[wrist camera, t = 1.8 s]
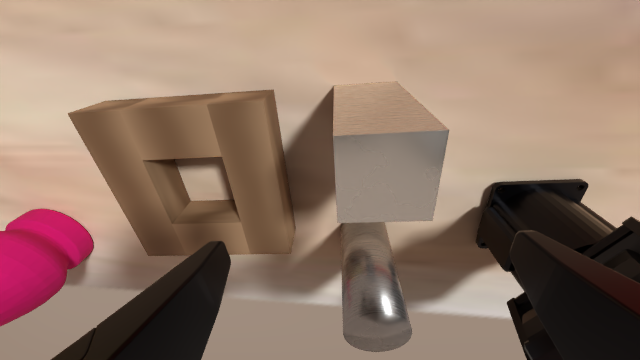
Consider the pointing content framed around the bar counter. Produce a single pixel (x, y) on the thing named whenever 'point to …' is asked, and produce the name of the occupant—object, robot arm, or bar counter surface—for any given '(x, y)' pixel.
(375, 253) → the round bit
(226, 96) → the bore block
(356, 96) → the square bit
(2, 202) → the bar counter surface
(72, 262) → the pepper mill
